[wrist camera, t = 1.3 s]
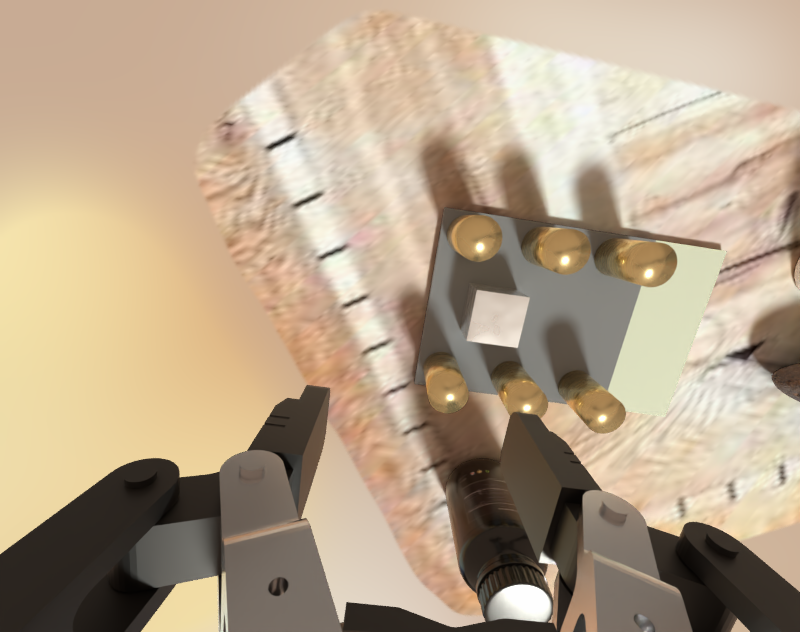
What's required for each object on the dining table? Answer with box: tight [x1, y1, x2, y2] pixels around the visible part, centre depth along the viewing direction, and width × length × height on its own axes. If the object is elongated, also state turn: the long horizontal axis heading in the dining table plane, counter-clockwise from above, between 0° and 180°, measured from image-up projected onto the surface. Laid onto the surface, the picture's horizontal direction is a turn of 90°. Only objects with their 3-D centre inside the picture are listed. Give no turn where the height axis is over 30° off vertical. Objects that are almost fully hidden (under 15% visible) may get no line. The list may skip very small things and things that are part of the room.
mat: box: [414, 207, 727, 417], centre depth 31 cm, size 23×15×1 cm, turn 82°
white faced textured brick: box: [460, 283, 530, 348], centre depth 29 cm, size 4×4×3 cm
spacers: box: [423, 215, 677, 433], centre depth 29 cm, size 15×14×5 cm
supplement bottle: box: [446, 458, 554, 623], centre depth 30 cm, size 7×7×12 cm
